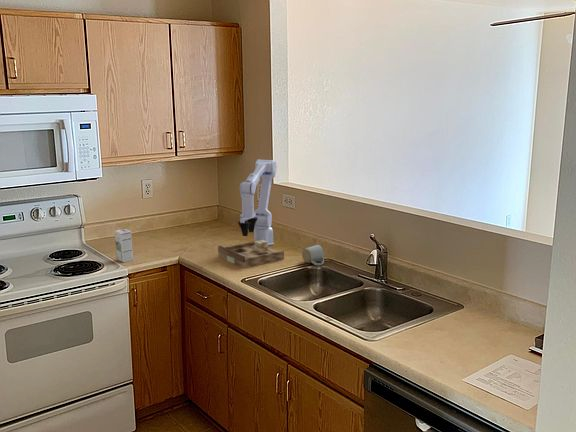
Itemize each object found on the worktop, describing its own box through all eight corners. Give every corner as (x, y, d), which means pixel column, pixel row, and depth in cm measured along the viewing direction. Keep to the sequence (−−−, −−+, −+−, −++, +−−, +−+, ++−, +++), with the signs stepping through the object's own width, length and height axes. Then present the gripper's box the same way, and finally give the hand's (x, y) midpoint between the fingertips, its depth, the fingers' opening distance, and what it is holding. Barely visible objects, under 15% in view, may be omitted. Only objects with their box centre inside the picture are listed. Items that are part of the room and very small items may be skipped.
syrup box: (133, 260, 271) (131, 230, 267) (122, 262, 267) (120, 232, 263) (127, 257, 275) (125, 228, 271) (116, 260, 271) (114, 230, 267)
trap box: (257, 248, 290) (257, 238, 289) (284, 258, 273) (284, 247, 272) (218, 256, 277) (218, 245, 275) (243, 268, 260) (243, 256, 258)
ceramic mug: (300, 261, 270) (301, 245, 268) (314, 258, 274) (315, 243, 272) (314, 267, 261) (314, 251, 259) (328, 264, 266) (328, 248, 264)
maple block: (262, 248, 281) (262, 239, 280) (267, 250, 278) (267, 241, 277) (254, 250, 278) (254, 241, 277) (260, 252, 275) (260, 243, 274)
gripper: (246, 203, 285) (246, 229, 288) (234, 209, 271) (234, 236, 274) (259, 204, 282) (259, 230, 285) (247, 210, 269) (248, 238, 272)
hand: (248, 233), depth 280 cm, fingers open, 7 cm apart
